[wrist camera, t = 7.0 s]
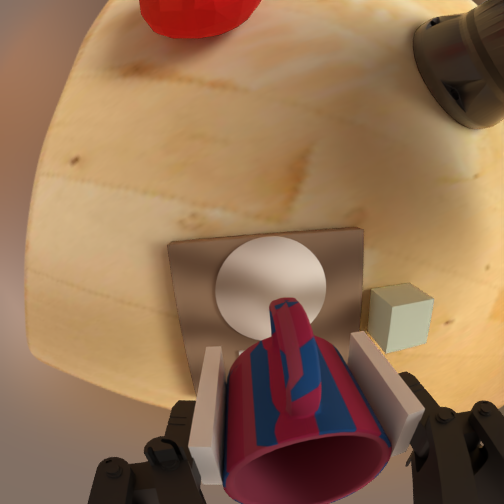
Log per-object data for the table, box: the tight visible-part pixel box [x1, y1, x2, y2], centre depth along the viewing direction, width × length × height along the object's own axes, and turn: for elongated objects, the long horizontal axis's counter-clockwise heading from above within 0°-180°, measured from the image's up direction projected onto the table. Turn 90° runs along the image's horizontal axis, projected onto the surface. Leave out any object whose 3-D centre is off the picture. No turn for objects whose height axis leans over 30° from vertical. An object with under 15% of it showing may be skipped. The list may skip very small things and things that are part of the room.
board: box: [167, 227, 364, 396], centre depth 27 cm, size 18×18×2 cm
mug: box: [223, 297, 392, 504], centre depth 11 cm, size 7×10×7 cm
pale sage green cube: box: [367, 283, 434, 353], centre depth 26 cm, size 5×5×5 cm
